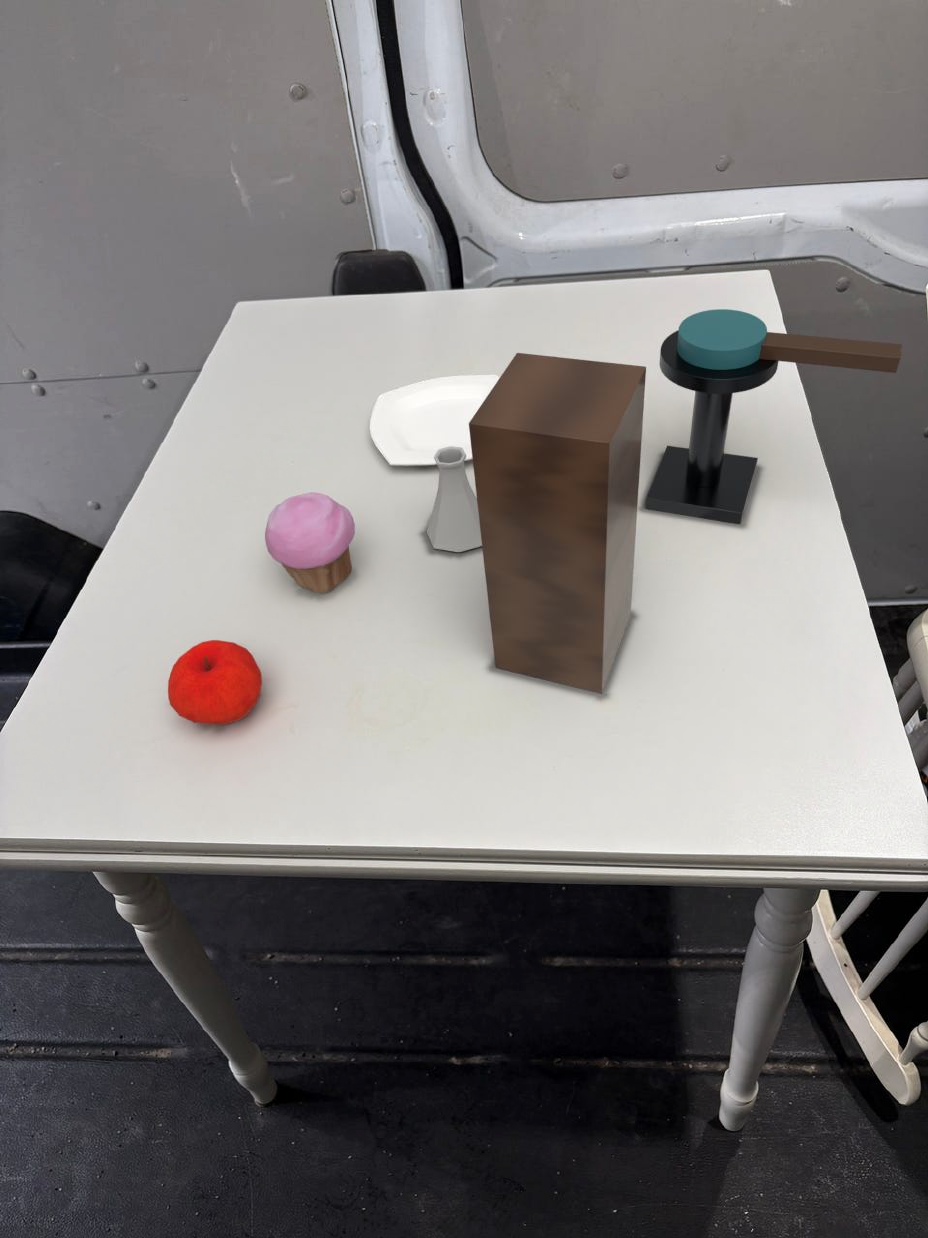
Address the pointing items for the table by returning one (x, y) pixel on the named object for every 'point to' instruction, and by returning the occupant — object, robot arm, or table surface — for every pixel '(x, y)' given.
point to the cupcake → (311, 540)
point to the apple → (214, 683)
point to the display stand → (706, 442)
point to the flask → (454, 505)
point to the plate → (428, 417)
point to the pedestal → (559, 513)
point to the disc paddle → (772, 345)
